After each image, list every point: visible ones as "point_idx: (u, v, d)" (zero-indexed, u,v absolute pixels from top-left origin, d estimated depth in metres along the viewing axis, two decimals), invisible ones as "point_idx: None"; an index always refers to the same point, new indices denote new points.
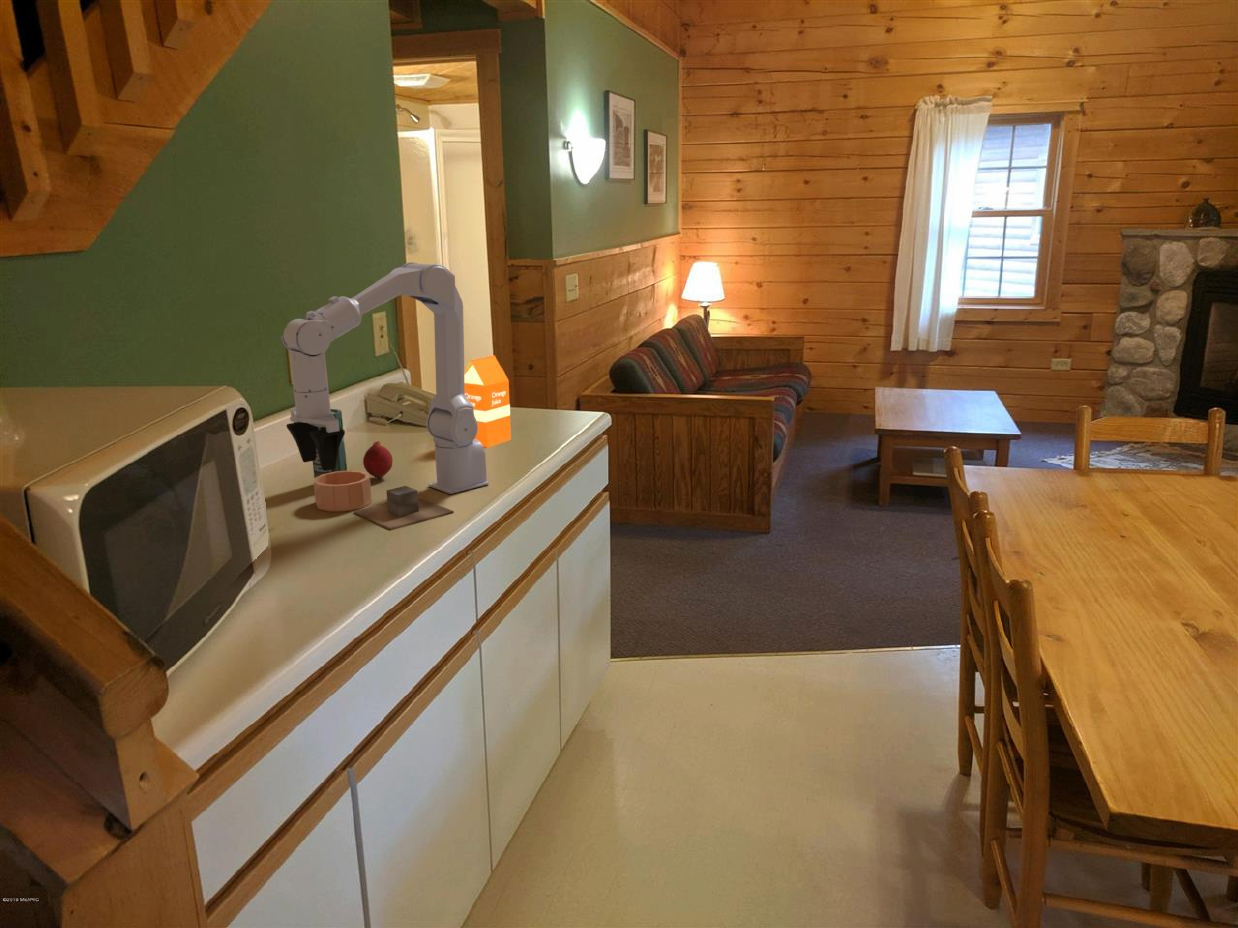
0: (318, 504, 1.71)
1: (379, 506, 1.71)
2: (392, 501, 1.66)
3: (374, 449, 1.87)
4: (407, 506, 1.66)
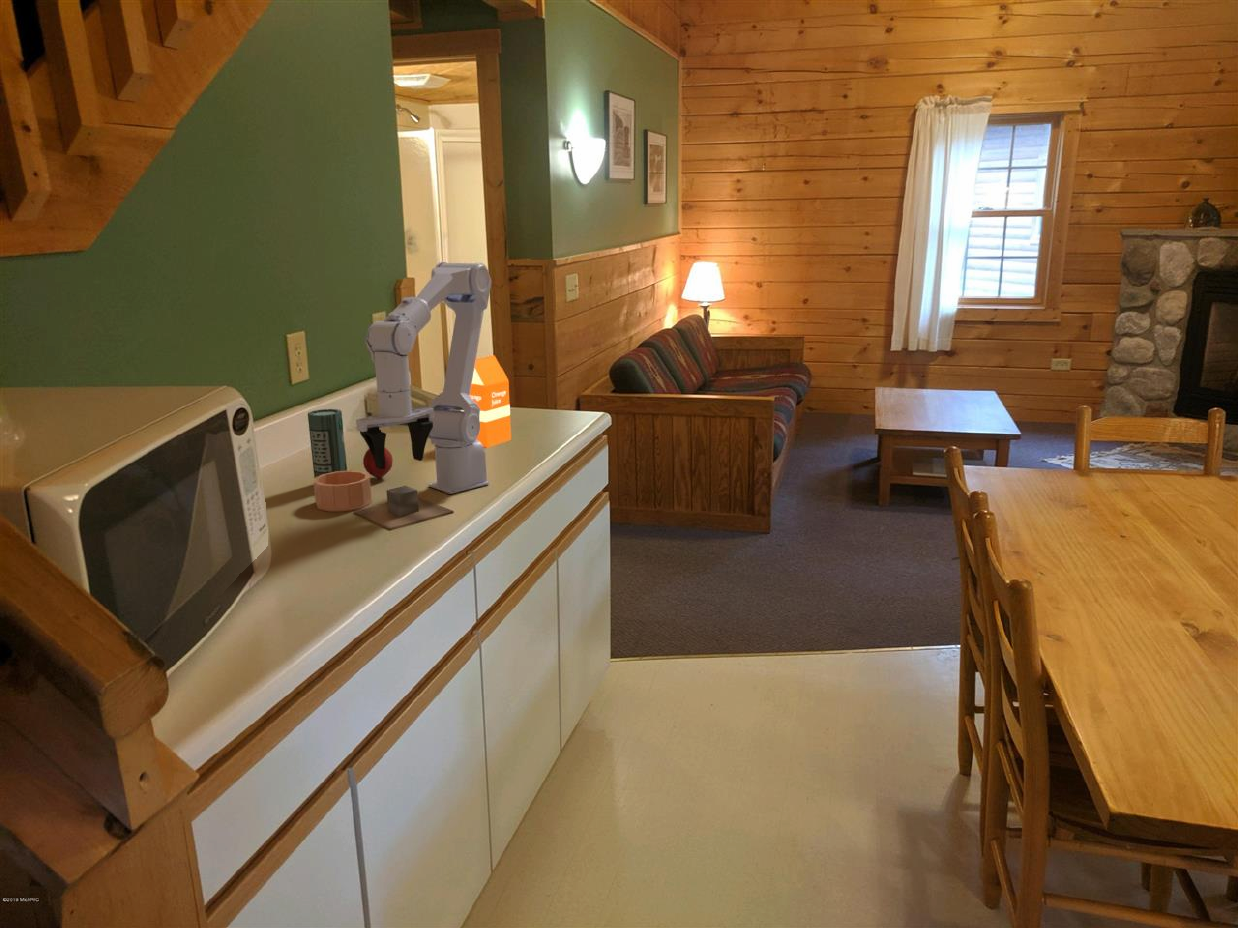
0: (318, 504, 1.71)
1: (379, 506, 1.71)
2: (392, 501, 1.66)
3: None
4: (407, 506, 1.66)
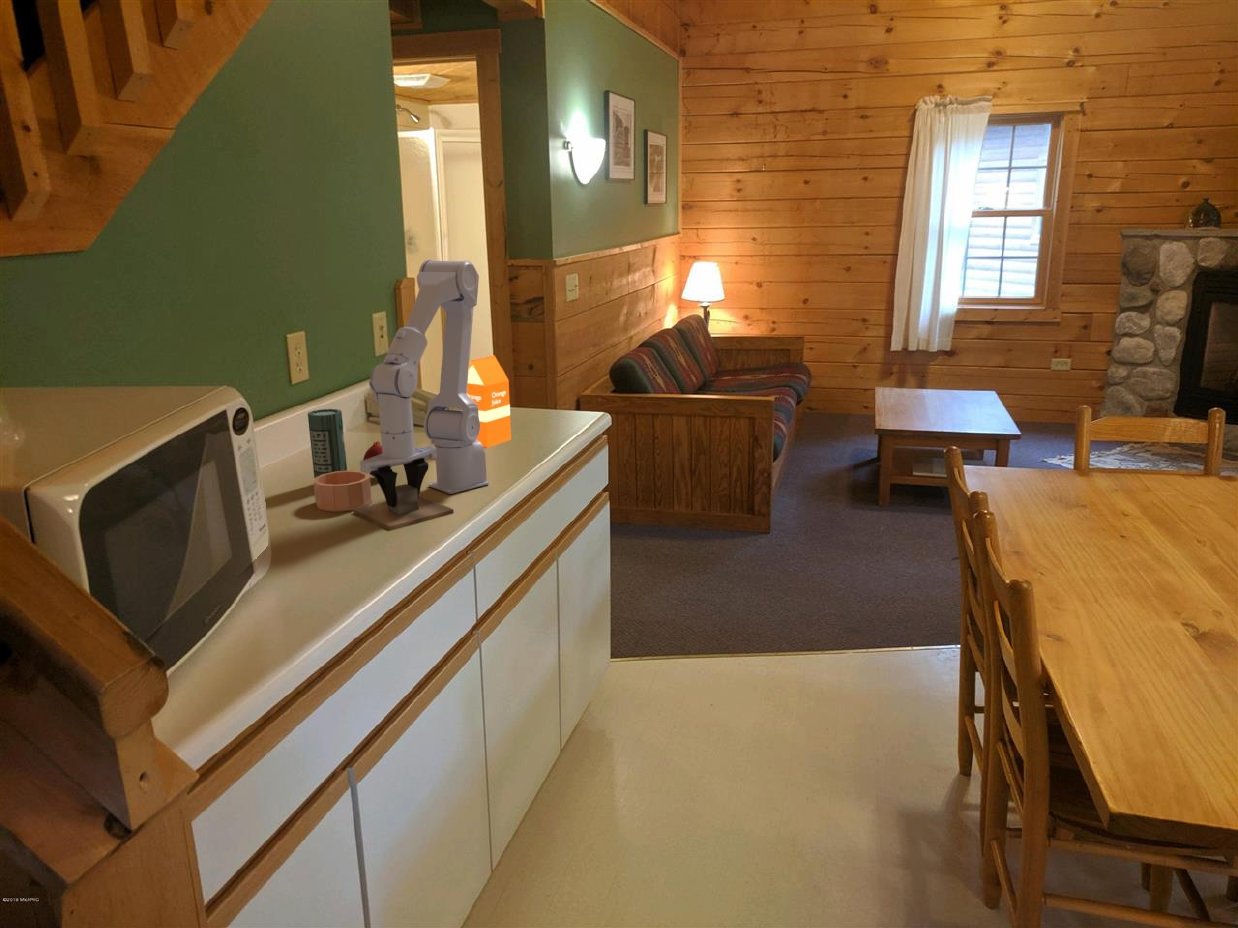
0: (318, 504, 1.71)
1: (379, 504, 1.71)
2: None
3: (374, 449, 1.87)
4: (407, 505, 1.66)
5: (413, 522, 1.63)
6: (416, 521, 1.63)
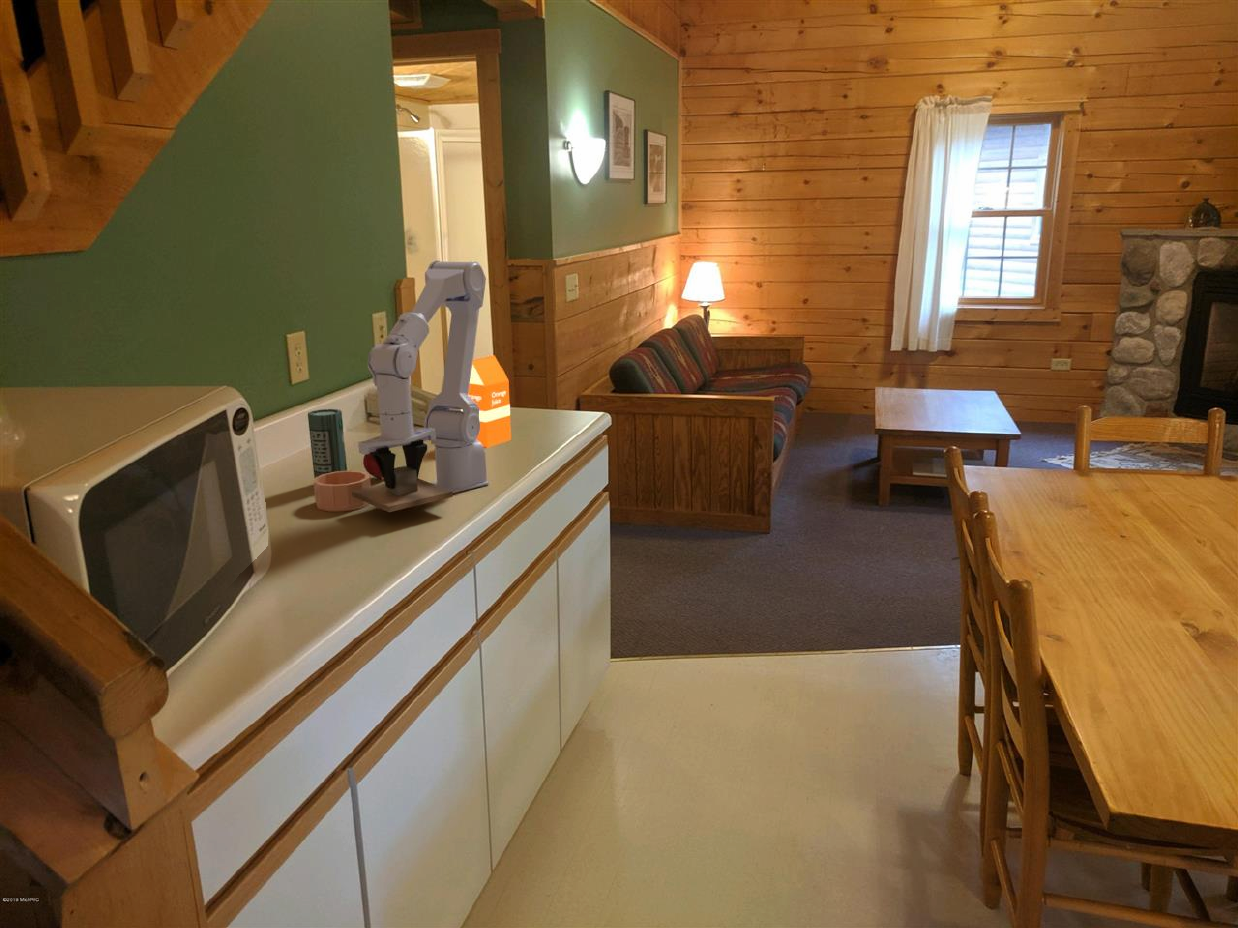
0: (318, 504, 1.71)
1: (378, 486, 1.70)
2: None
3: None
4: (406, 486, 1.65)
5: (412, 503, 1.62)
6: (415, 502, 1.62)
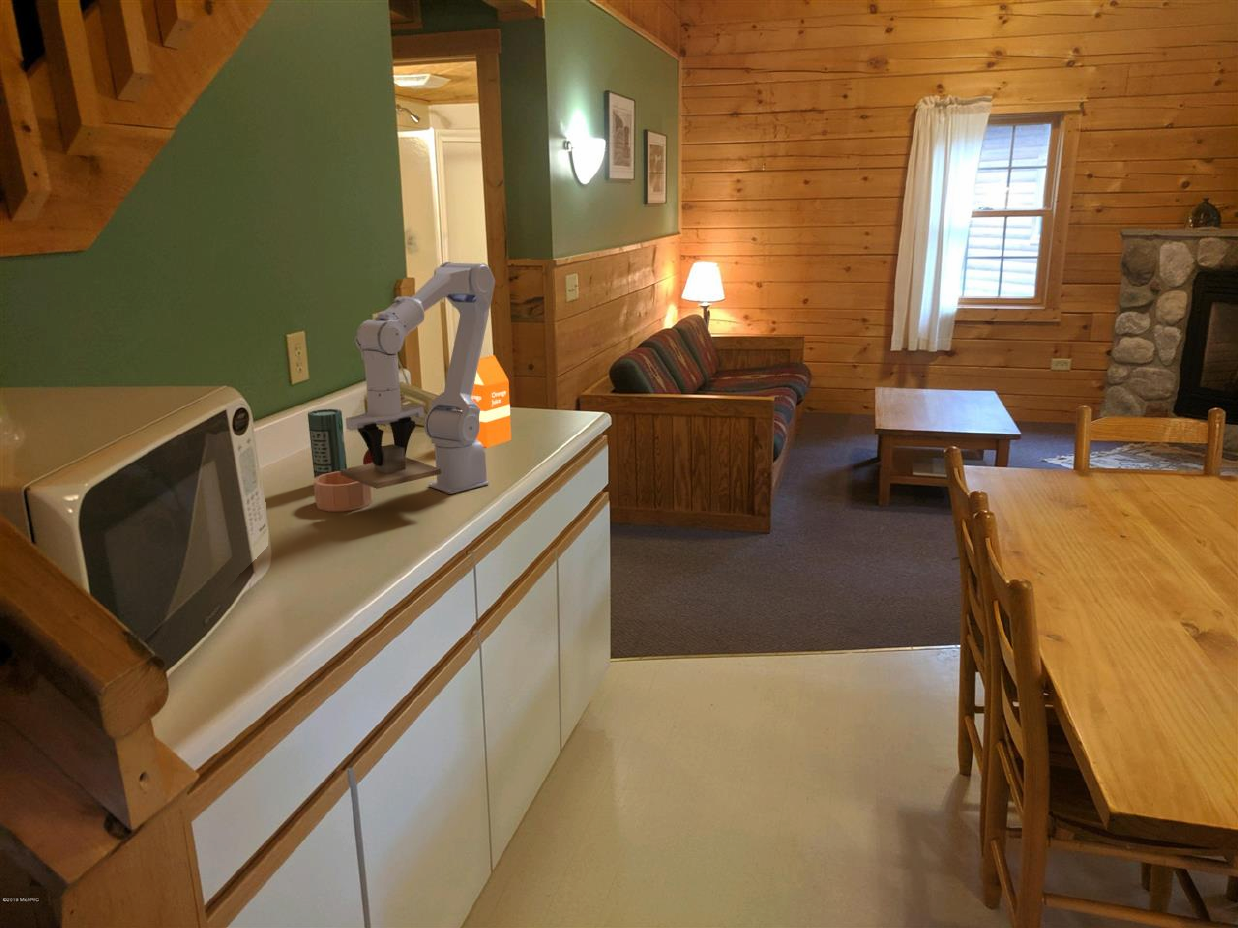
0: (318, 504, 1.71)
1: (366, 465, 1.70)
2: None
3: None
4: (394, 464, 1.65)
5: (400, 480, 1.61)
6: (403, 479, 1.62)
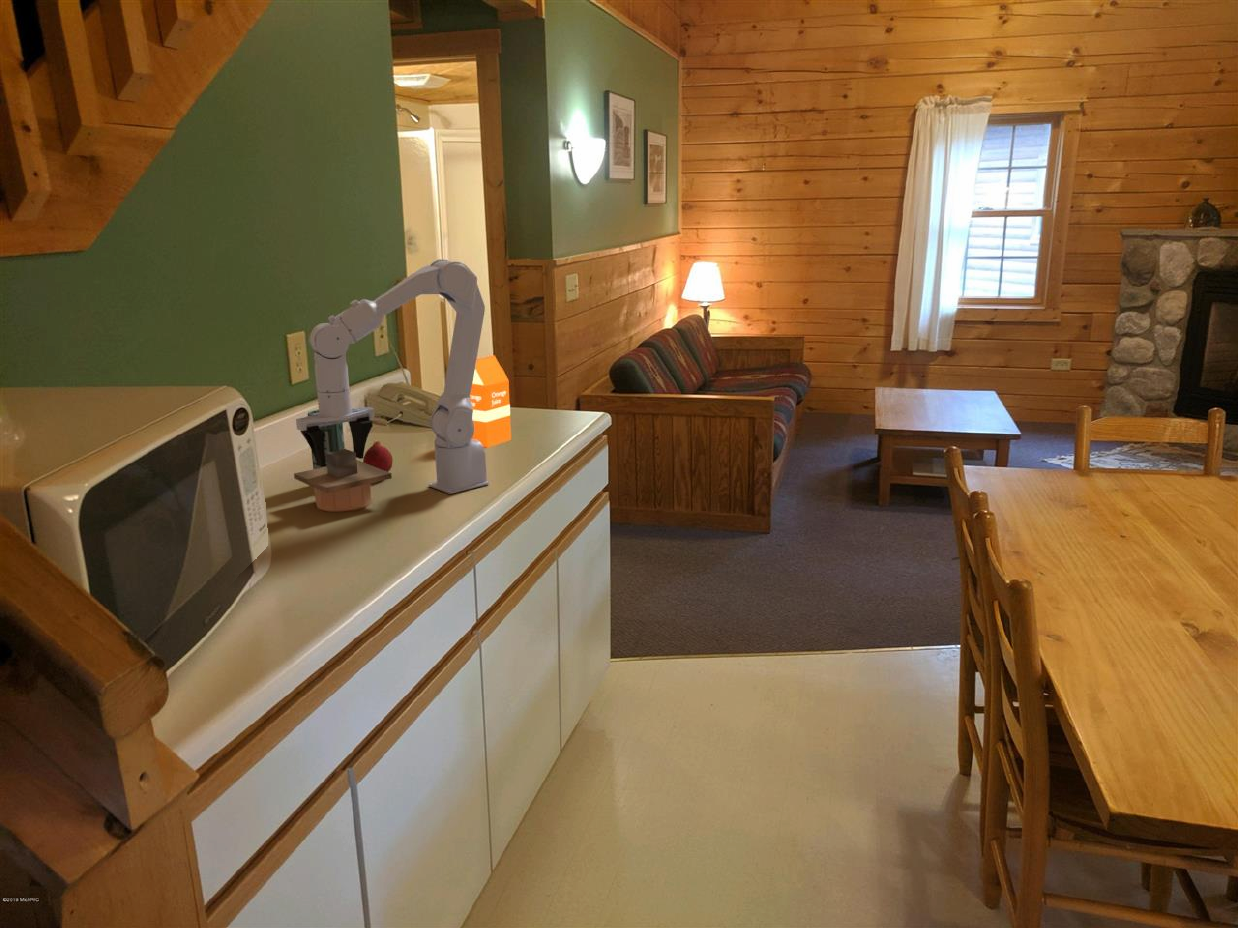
0: (318, 504, 1.71)
1: (320, 469, 1.75)
2: (331, 463, 1.70)
3: (374, 449, 1.87)
4: (345, 468, 1.70)
5: (350, 484, 1.67)
6: (353, 483, 1.67)
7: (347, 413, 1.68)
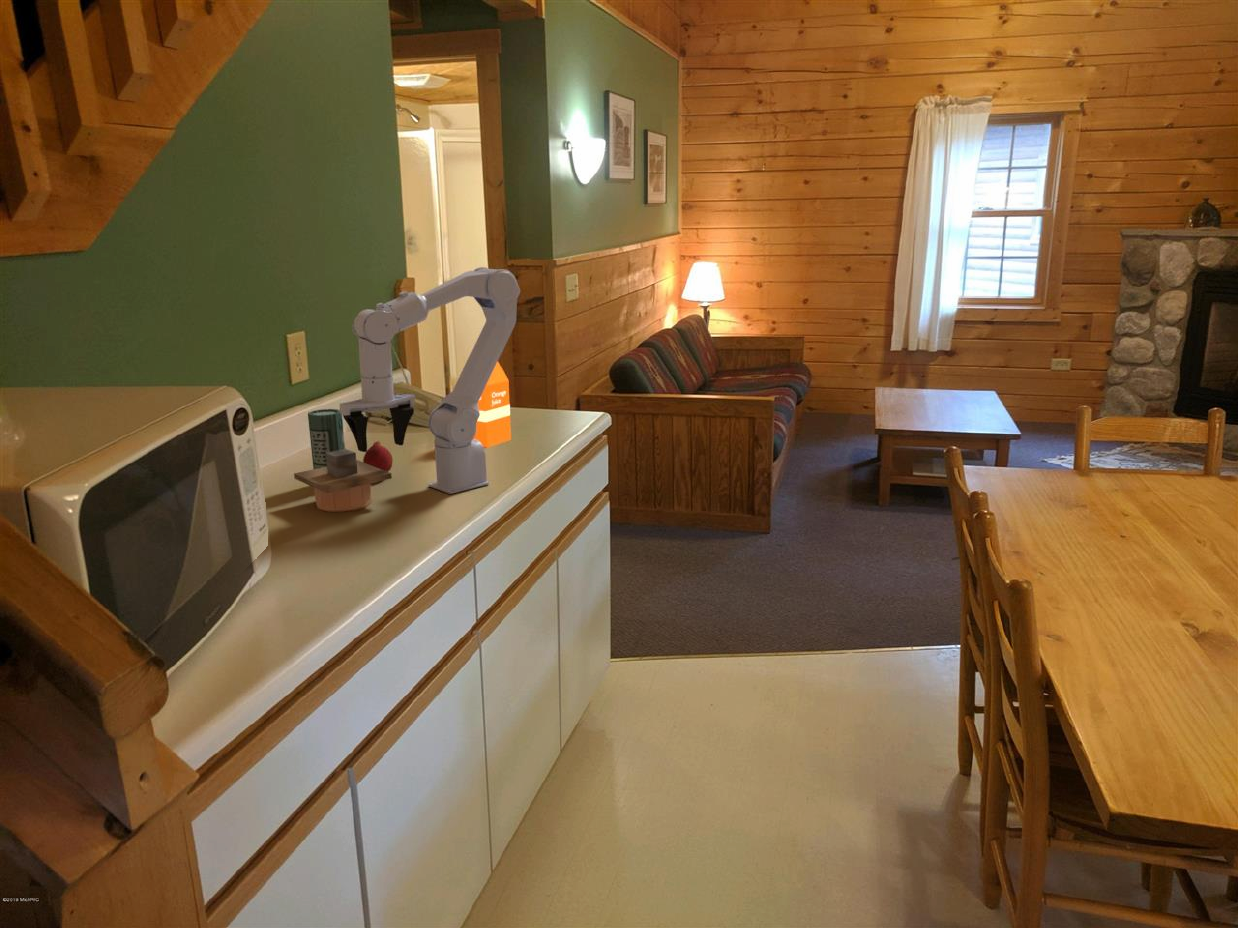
0: (318, 504, 1.71)
1: (320, 469, 1.75)
2: (331, 463, 1.70)
3: (374, 449, 1.87)
4: (345, 468, 1.70)
5: (350, 484, 1.67)
6: (353, 483, 1.67)
7: (390, 399, 1.69)
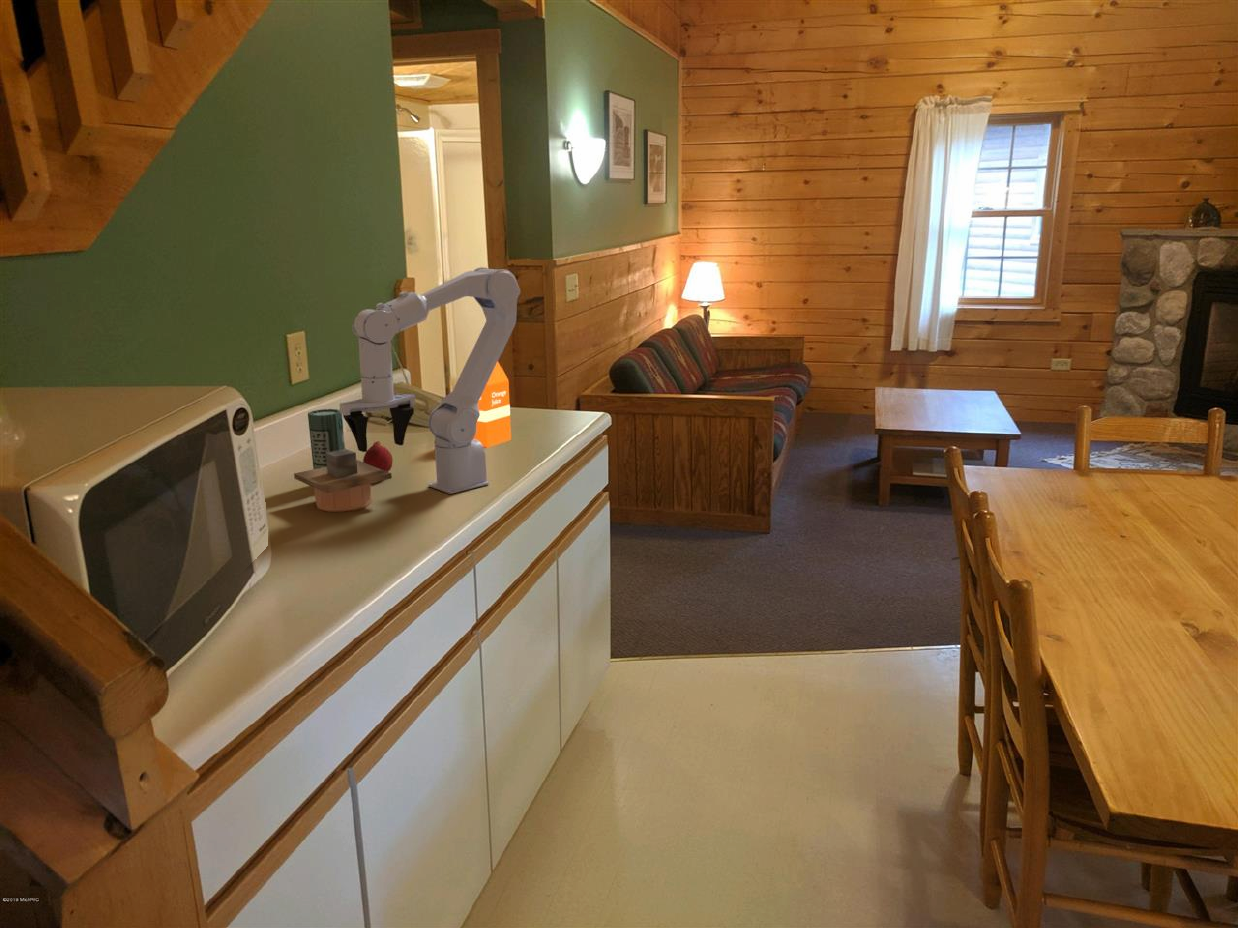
0: (318, 504, 1.71)
1: (320, 469, 1.75)
2: (331, 463, 1.70)
3: (374, 449, 1.87)
4: (345, 468, 1.70)
5: (350, 484, 1.67)
6: (353, 483, 1.67)
7: (390, 399, 1.69)
